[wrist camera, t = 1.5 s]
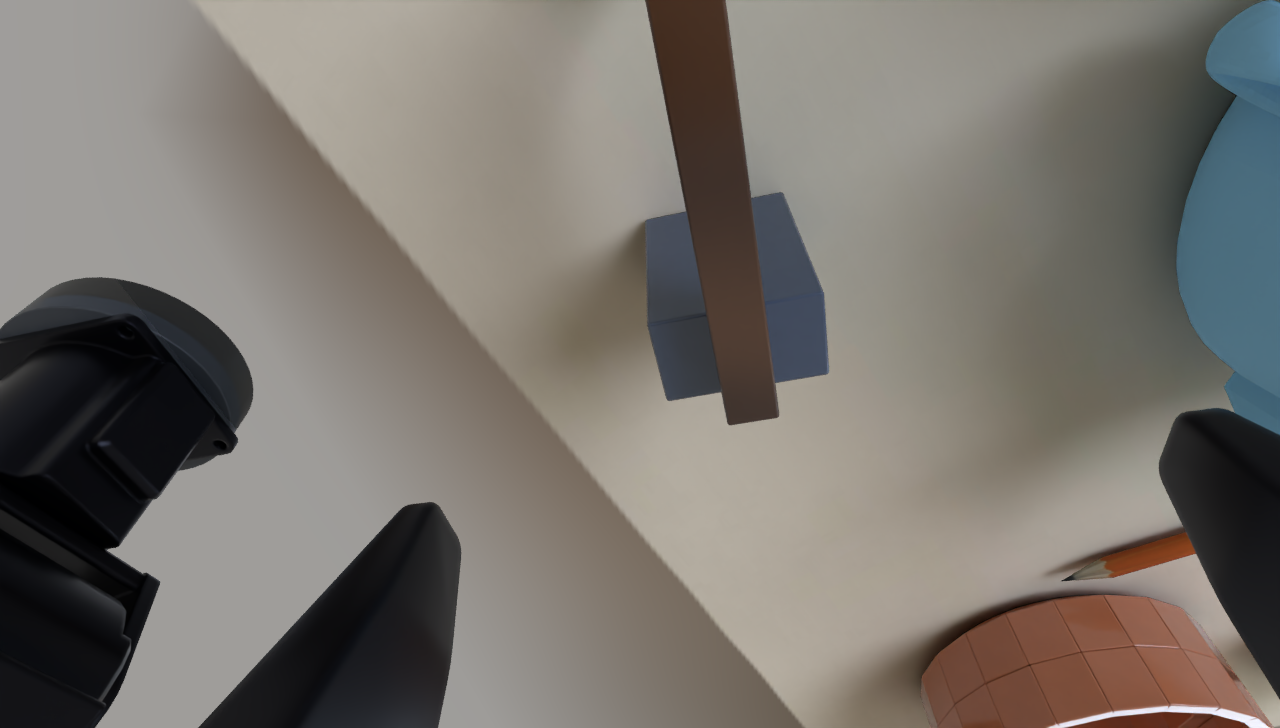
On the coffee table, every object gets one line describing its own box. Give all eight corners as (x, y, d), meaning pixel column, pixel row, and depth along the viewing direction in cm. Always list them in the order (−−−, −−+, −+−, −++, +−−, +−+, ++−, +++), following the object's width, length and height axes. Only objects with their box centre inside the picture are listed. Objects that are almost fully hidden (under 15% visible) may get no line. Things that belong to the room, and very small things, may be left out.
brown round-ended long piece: (796, 262, 21) (851, 407, 15) (654, 289, 21) (660, 437, 16) (734, -423, 12) (807, -618, 7) (499, -347, 13) (404, -474, 8)
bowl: (913, 730, 40) (947, 841, 35) (920, 603, 32) (965, 725, 27) (1157, 706, 38) (1224, 819, 34) (1229, 565, 30) (1329, 689, 26)
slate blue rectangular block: (661, 288, 21) (666, 402, 17) (644, 219, 20) (646, 324, 15) (790, 263, 21) (829, 375, 16) (783, 190, 19) (824, 292, 15)
